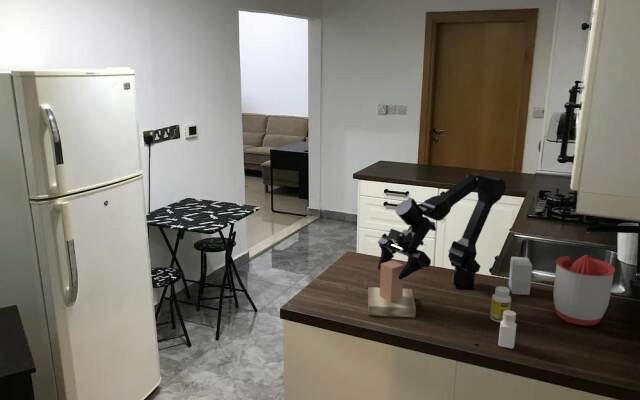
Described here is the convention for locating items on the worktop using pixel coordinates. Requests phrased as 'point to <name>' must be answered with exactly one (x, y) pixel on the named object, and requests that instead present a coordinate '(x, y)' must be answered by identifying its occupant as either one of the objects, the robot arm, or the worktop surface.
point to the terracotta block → (391, 281)
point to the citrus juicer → (582, 289)
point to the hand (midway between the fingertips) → (388, 274)
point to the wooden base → (391, 304)
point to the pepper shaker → (507, 329)
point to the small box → (520, 275)
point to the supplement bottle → (500, 303)
